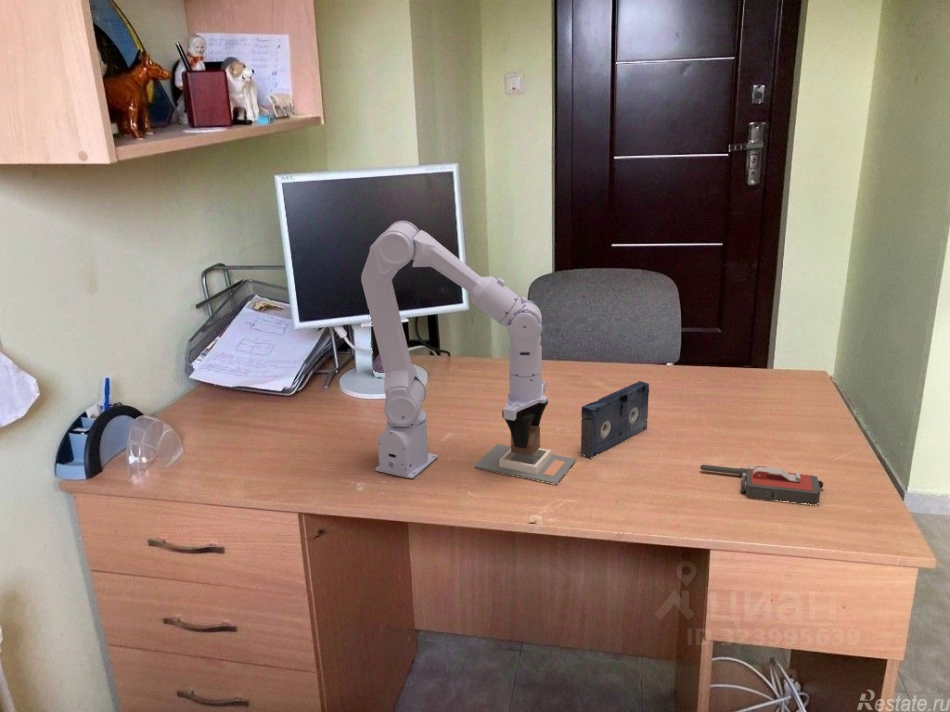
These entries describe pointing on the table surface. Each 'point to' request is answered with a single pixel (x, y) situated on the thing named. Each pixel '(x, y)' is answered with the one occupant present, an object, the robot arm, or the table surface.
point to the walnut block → (529, 442)
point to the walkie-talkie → (774, 483)
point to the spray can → (375, 354)
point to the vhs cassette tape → (614, 419)
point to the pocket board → (526, 464)
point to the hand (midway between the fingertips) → (525, 441)
